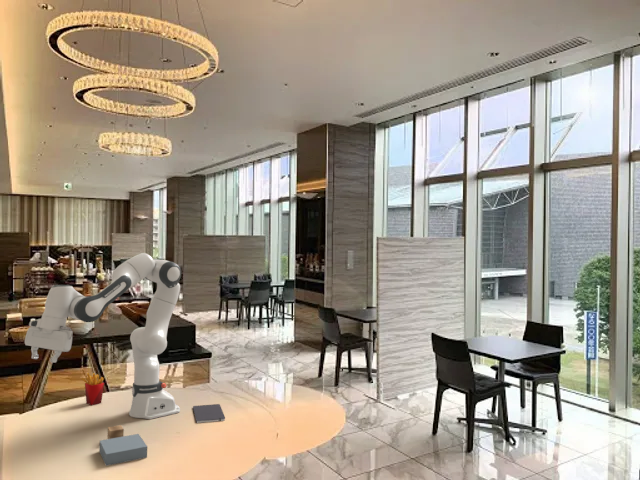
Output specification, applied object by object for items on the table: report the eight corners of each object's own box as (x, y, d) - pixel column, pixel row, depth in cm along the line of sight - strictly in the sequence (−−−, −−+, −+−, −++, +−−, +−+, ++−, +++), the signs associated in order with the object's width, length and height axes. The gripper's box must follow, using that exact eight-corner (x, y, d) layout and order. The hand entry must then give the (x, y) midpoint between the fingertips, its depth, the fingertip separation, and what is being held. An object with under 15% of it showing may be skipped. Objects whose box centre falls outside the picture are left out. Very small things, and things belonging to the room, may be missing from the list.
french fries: (96, 400, 240) (97, 370, 241) (105, 403, 236) (107, 372, 236) (79, 404, 233) (80, 373, 234) (88, 408, 228) (89, 376, 229)
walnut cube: (120, 437, 195) (121, 425, 195) (123, 441, 191) (123, 429, 191) (107, 439, 192) (107, 427, 192) (109, 444, 188) (110, 431, 188)
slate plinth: (138, 444, 188) (138, 433, 189) (147, 457, 177) (147, 446, 177) (99, 451, 181) (99, 440, 181) (105, 465, 169) (106, 454, 169)
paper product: (192, 409, 233) (196, 424, 213) (193, 405, 233) (196, 420, 213) (219, 407, 237) (225, 421, 217) (219, 403, 237) (225, 418, 217)
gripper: (79, 328, 190) (70, 364, 187) (39, 322, 196) (30, 357, 193) (67, 327, 184) (58, 364, 181) (26, 321, 190) (17, 356, 188)
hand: (43, 360), depth 187 cm, fingers open, 8 cm apart
